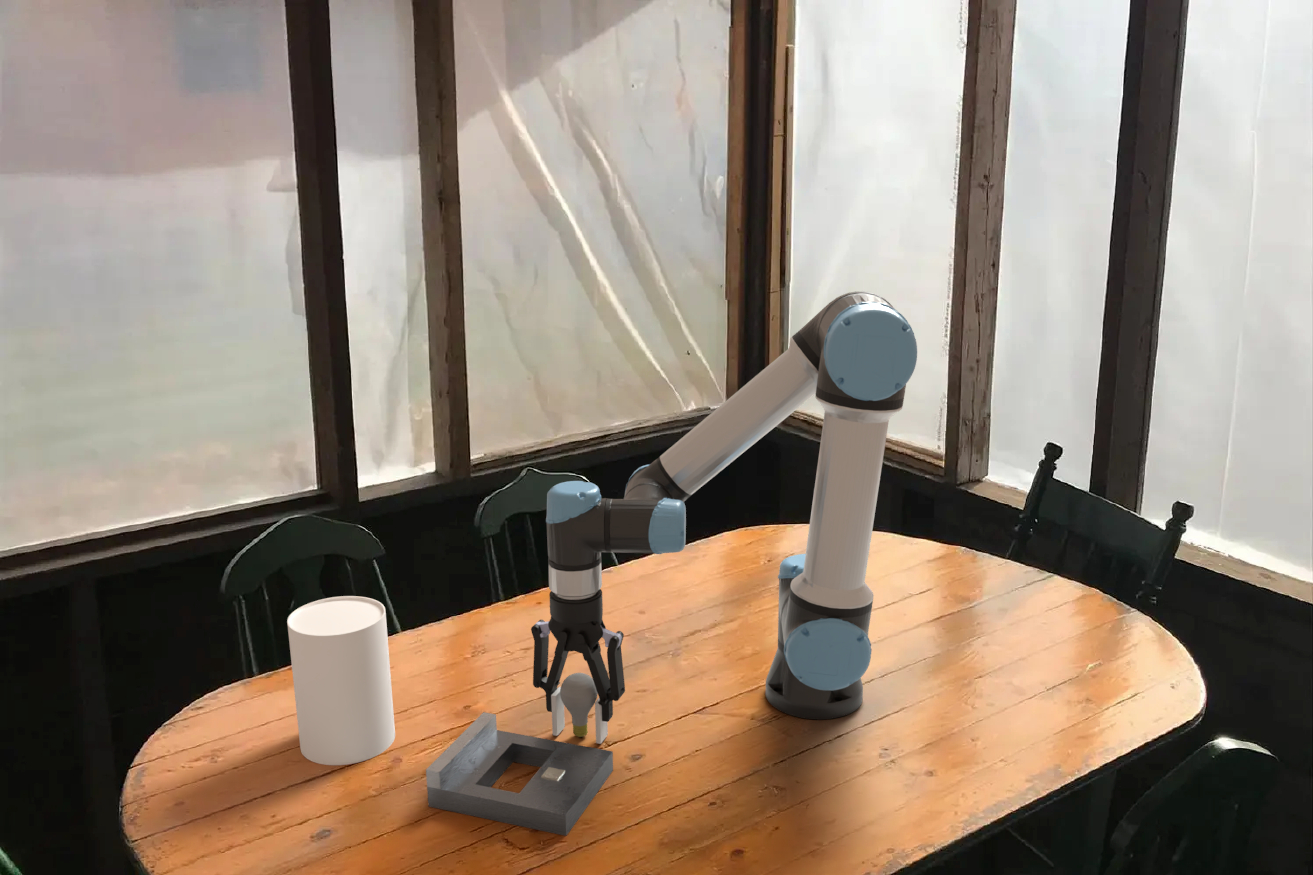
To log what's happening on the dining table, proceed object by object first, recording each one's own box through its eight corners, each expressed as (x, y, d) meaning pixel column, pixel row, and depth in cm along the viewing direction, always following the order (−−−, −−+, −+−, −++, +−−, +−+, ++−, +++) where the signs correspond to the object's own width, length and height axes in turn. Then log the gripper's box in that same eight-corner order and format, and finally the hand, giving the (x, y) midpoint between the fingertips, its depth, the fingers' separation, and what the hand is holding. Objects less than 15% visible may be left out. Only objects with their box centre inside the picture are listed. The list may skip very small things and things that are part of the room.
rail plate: (613, 770, 160) (612, 735, 158) (566, 835, 145) (565, 797, 144) (485, 745, 166) (483, 712, 165) (428, 806, 152) (425, 769, 150)
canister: (295, 728, 172) (282, 605, 166) (386, 709, 177) (376, 590, 171) (306, 773, 160) (292, 642, 154) (403, 752, 165) (393, 625, 159)
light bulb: (561, 727, 171) (559, 667, 168) (598, 725, 171) (596, 665, 169) (561, 746, 166) (559, 684, 163) (599, 744, 166) (597, 682, 164)
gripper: (648, 588, 163) (650, 733, 169) (526, 572, 169) (532, 712, 175) (629, 608, 156) (631, 759, 162) (503, 591, 162) (510, 736, 168)
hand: (580, 734), depth 168 cm, fingers open, 6 cm apart
